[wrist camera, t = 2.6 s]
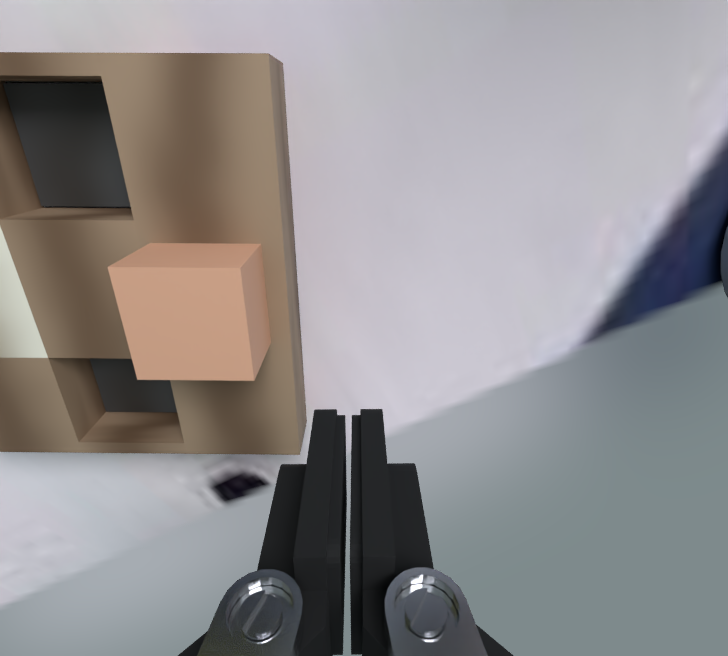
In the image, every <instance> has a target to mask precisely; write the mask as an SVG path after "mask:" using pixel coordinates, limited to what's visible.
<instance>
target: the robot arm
mask: <svg viewBox="0 0 728 656" xmlns="http://www.w3.org/2000/svg"><path fill="white" fill-rule="evenodd" d="M721 277H722V282H723V286H724V291H725V293H726V295H727V297H728V226H727V229H726V233H725V237H724V241H723V246H722V250H721ZM346 495H347V492H346V433H345V415H337V410H336V409H329V410H314V416H313V423H312V430H311V437H310V444H309V451H308V458H307V464H282V465H281V467H280V470H279V474H278V478H277V483H276V487H275V492H274V497H273V501H272V506H271V510H270V514H269V519H268V524H267V528H266V533H265V538H264V542H263V546H262V551H261V555H260V560H259V564H258V569H257V571H255V572H252V573H249V574H247V575H245V576H244V577H242V578H241V579H239V580H237V581H236V582H235V583H234V584H233V585H232V586H231V587H230V588H229V589H228V590H227V592H226V594H225V595H224V597H223V599H222V601H221V602H220V604H219V607H218V609H217V611H216V613H215V616H214V618H213V620H212V623H211V625H210V628H209V629H208V631H207V632H206V633H205V634H204V635H202V636H201V637H200V638H199V639H198V640H196V641H195V642H194V643H193V644H192V645H190V646H189V647H188V648H187V649H185V650H184V651H183V652H182V653H180V654H179V655H178V656H333V655H342V654H343V627H344V626H343V625H344V588H345V548H346V547H345V546H346V507H347V501H346V500H347V497H346ZM350 585H351V586H350V590H351V591H350V592H351V593H350V594H351V654H362V656H513V655H512V654H511V653H510V652H508V651H507V650H506V649H505V648H504V647H502V646H501V645H500V644H499V643H497V642H496V641H495V640H494V639H493V638H491V637H490V636H489V635H488V634H487V633H486V632H484V631H483V630H482V629H481V628H480V627H478V626H477V625H476V624H475V621H474V619H473V616H472V613H471V611H470V608H469V605H468V603H467V600H466V598H465V597H464V594H463V592H462V591H461V589H460V587H459V586H458V585H457V584H456V583H455V582H454V581H453V580H452V579H451V578H450V577H448V576H447V575H445V574H443V573H442V572H440V571H438V570H434V568H433V562H432V557H431V551H430V545H429V539H428V533H427V528H426V523H425V516H424V510H423V505H422V499H421V493H420V487H419V481H418V475H417V470H416V466H415V464H414V463H412V464H411V463H410V464H409V463H405V464H404V463H403V464H387V456H386V445H385V434H384V422H383V412H382V409H361V415H352V450H351V520H350Z"/></svg>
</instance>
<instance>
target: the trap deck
mask: <svg viewBox="0 0 728 656" xmlns="http://www.w3.org/2000/svg"><path fill="white" fill-rule="evenodd" d="M5 81H25V82H103V84H8V83H5ZM44 206H86V207H44ZM97 207H131V208H97ZM149 243H212V244H261V248H262V258H263V268H264V278H265V287H266V297H267V307H268V317H269V327H270V337H271V344H270V346H269V348H268V351H267V353H266V355H265V358H264V360H263V362H262V364H261V367H260V369H259V371H258V374H257V376H256V378H255V380H254V381H223V380H137V376H136V373H135V369H134V365H133V361H132V358H131V354H130V350H129V346H128V342H127V339H126V335H125V331H124V327H123V324H122V320H121V316H120V312H119V309H118V305H117V301H116V297H115V293H114V290H113V286H112V282H111V278H110V275H109V271H108V267H109V266H110V265H112V264H114V263H116V262H117V261H119V260H121V259H123V258H124V257H126V256H128V255H130V254H132V253H133V252H135V251H137V250H139V249H140V248H142V247H144V246H146V245H147V244H149ZM306 422H307V420H306V405H305V390H304V375H303V360H302V345H301V330H300V315H299V300H298V285H297V270H296V254H295V239H294V224H293V209H292V194H291V179H290V164H289V149H288V134H287V119H286V104H285V89H284V74H283V63H282V62H280V61H279V60H277V59H276V58H274V57H273V56H271V55H270V54H252V53H22V52H0V452H82V453H181V454H281V455H300V451H301V447H302V442H303V437H304V432H305V427H306Z"/></svg>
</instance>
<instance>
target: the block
mask: <svg viewBox="0 0 728 656" xmlns="http://www.w3.org/2000/svg"><path fill="white" fill-rule="evenodd" d="M108 271H109V275H110V278H111V282H112V286H113V290H114V293H115V297H116V301H117V305H118V309H119V312H120V316H121V320H122V324H123V327H124V331H125V335H126V339H127V342H128V346H129V350H130V354H131V358H132V361H133V365H134V369H135V373H136V376H137V380H223V381H254V380H255V378H256V376H257V374H258V371H259V369H260V367H261V364H262V362H263V360H264V358H265V355H266V353H267V351H268V348H269V346H270V344H271V337H270V327H269V317H268V307H267V297H266V287H265V278H264V268H263V258H262V248H261V244H212V243H149V244H147V245H146V246H144V247H142V248H140V249H139V250H137V251H135V252H133V253H132V254H130V255H128V256H126V257H124V258H123V259H121V260H119V261H117V262H116V263H114V264H112V265H110V266H109V267H108Z"/></svg>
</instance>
